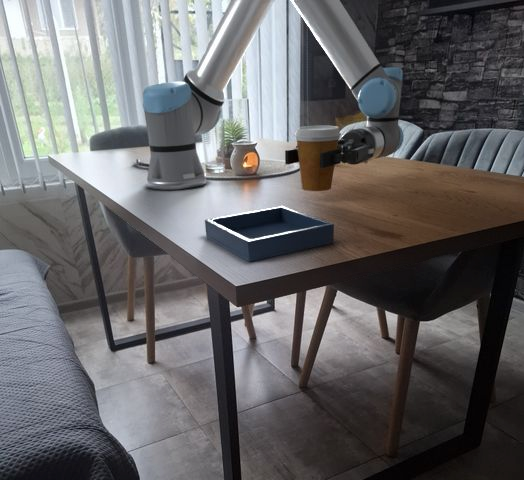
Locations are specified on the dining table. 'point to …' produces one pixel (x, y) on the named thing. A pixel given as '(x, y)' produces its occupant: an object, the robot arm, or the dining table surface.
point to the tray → (268, 232)
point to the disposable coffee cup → (316, 155)
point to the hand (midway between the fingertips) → (303, 159)
